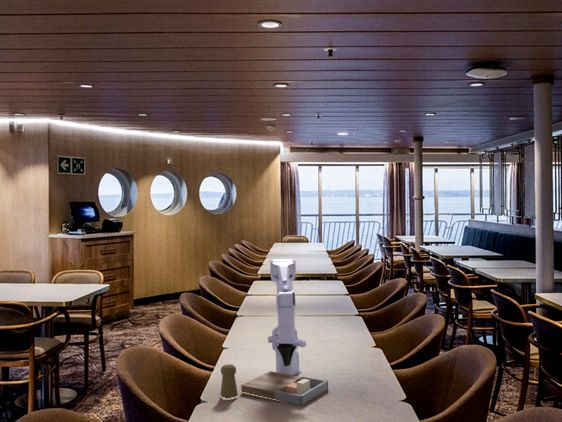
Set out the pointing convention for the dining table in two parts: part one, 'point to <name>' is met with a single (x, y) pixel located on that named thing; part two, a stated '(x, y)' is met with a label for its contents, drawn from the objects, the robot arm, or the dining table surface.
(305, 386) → the cream tile
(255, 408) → the dining table surface
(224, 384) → the cork
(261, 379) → the tan slab
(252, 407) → the dining table surface
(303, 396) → the box
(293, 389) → the terracotta tile
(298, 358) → the robot arm
